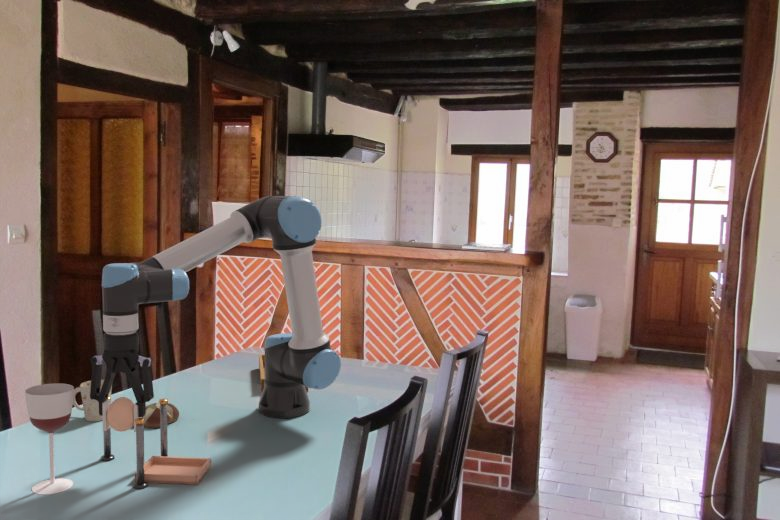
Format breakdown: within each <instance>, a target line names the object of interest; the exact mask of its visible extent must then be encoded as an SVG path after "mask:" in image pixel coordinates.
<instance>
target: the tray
mask: <svg viewBox="0 0 780 520" xmlns="http://www.w3.org/2000/svg"><path fill="white" fill-rule="evenodd" d="M211 467H212V458H210V457H209V458H207V457H188V456H187V457H186V456H168V457H166V456H161V455H152V456H151V457H150V458H149V459H147V461H146V462H144V476H145V481H146V482H148V484H149V483H150V484H168V485H169V484H171V485H188V486H189V485H190V486H191V485H193V486H197V485H198V484H199V483H200V482H201V481H202V480H203V478H204V477H205V476H206V474H207V473H208V471H210V469H211ZM136 482H137V471H136V472H135V473H134V483H136Z"/></svg>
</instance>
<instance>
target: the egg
mask: <svg viewBox="0 0 780 520" xmlns="http://www.w3.org/2000/svg"><path fill="white" fill-rule="evenodd" d="M134 404H135V403H134V401H133V400H131V398H129V397H126V396H120V397H117V398H116V399H114V400H113V401H111V405H110V407H109V409H108V412H107V421H108V424H109V425H110V426H111V428H112V429H113V430H114V431H117V432H126V431H128V430H131V429H132V428H134Z"/></svg>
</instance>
